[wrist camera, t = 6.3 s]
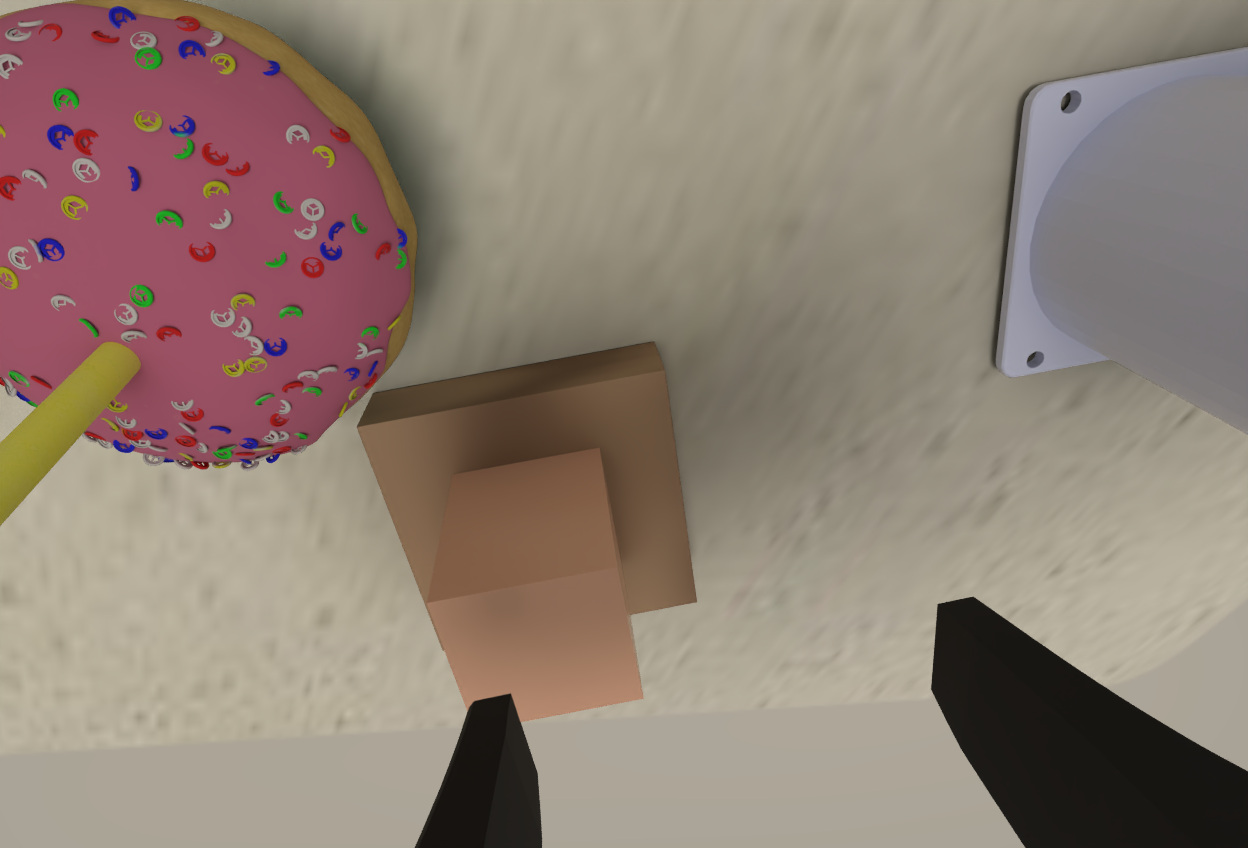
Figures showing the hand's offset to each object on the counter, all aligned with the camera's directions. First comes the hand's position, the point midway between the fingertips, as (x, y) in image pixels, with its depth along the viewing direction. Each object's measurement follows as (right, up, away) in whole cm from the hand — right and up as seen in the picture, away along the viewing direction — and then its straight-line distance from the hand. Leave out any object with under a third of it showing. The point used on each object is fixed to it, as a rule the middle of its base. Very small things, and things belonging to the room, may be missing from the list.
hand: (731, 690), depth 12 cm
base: (-4, +3, +10) cm, 11 cm away
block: (-4, +2, +8) cm, 9 cm away
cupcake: (-11, +10, +6) cm, 16 cm away
